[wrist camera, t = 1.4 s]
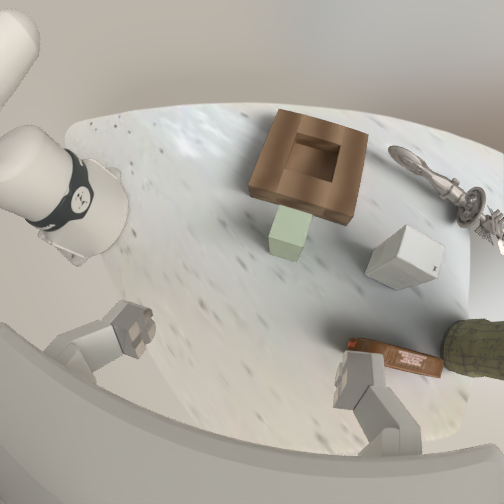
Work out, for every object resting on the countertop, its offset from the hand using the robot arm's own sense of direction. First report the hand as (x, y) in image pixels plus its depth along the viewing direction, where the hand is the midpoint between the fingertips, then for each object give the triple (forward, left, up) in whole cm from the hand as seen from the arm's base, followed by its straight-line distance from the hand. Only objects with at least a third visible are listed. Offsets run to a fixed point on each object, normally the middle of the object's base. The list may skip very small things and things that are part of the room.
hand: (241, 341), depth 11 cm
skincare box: (+15, +12, -28) cm, 34 cm away
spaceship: (+28, +26, -28) cm, 47 cm away
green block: (0, +11, -28) cm, 30 cm away
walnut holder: (0, +24, -28) cm, 37 cm away
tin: (+19, 0, -28) cm, 33 cm away
